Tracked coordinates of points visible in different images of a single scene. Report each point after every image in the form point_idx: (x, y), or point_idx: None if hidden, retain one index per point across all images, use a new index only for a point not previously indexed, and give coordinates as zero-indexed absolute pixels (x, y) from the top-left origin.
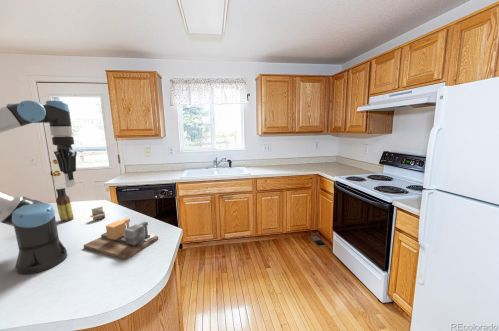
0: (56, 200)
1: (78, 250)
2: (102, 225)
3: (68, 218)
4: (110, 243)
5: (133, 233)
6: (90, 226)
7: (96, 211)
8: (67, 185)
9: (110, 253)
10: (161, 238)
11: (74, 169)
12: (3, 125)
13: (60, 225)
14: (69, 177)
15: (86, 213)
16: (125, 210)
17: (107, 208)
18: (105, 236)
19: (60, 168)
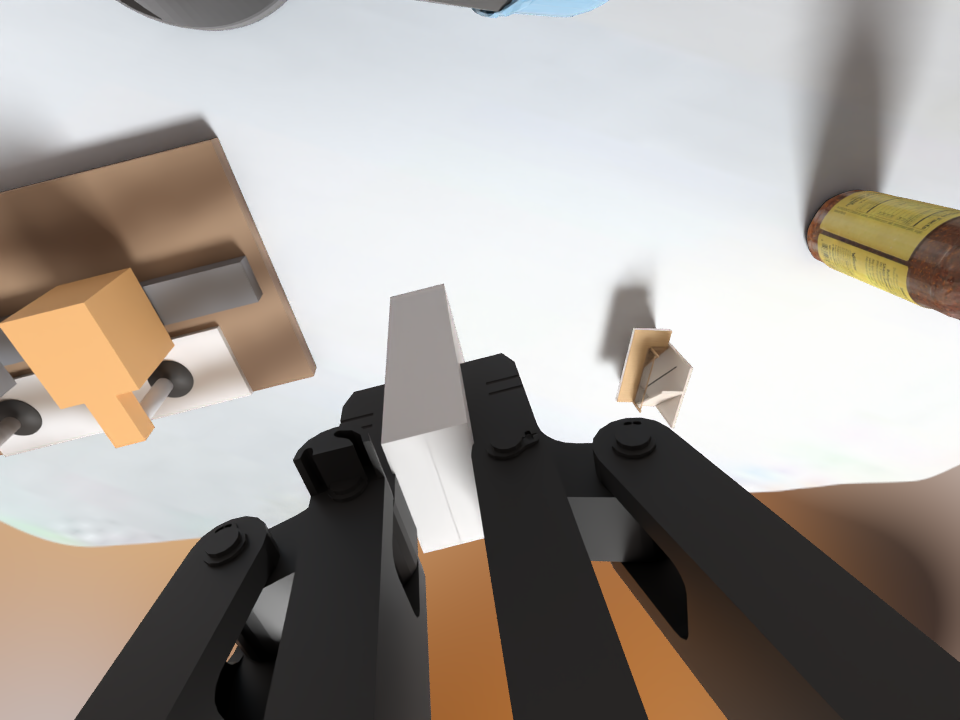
0: None
1: (207, 101)
2: (507, 333)
3: (818, 231)
4: (97, 258)
5: None
6: (562, 282)
7: (671, 378)
8: (409, 305)
9: None
10: (8, 457)
11: (243, 658)
12: None
13: (783, 163)
14: (359, 422)
15: (825, 341)
16: None
17: (773, 445)
18: (196, 271)
19: (672, 480)
